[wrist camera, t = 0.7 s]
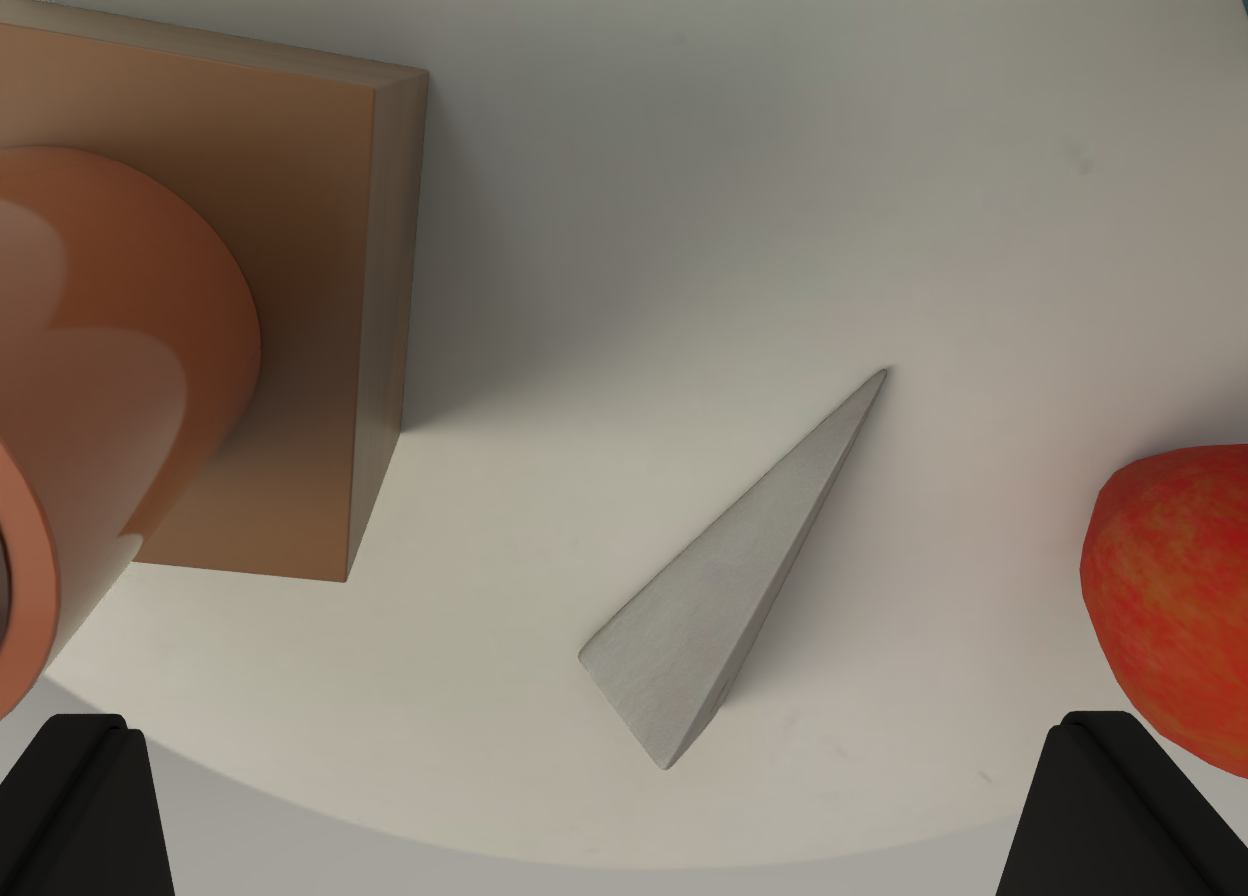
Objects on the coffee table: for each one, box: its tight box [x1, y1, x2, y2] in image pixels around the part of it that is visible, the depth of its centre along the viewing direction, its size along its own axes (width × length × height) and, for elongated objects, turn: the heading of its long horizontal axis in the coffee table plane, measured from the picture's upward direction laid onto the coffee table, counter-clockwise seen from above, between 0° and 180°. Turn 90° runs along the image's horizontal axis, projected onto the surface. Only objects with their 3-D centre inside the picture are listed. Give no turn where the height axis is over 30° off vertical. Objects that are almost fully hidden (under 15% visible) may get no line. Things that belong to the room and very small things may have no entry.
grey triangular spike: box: [578, 369, 887, 770], centre depth 29 cm, size 6×5×13 cm
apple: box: [1080, 444, 1248, 779], centre depth 25 cm, size 9×8×11 cm
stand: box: [0, 0, 429, 583], centre depth 21 cm, size 10×10×8 cm
